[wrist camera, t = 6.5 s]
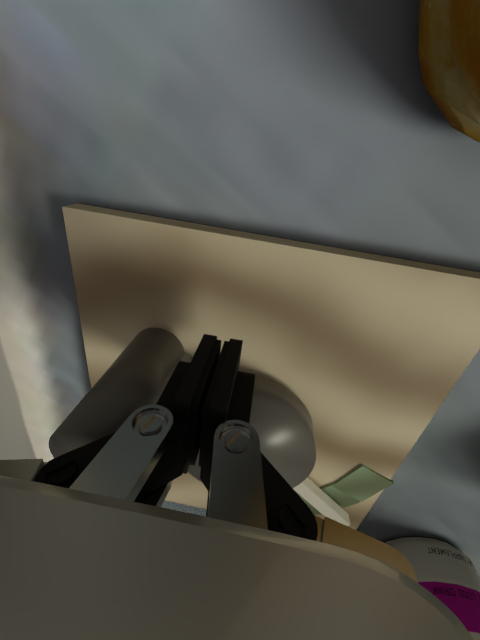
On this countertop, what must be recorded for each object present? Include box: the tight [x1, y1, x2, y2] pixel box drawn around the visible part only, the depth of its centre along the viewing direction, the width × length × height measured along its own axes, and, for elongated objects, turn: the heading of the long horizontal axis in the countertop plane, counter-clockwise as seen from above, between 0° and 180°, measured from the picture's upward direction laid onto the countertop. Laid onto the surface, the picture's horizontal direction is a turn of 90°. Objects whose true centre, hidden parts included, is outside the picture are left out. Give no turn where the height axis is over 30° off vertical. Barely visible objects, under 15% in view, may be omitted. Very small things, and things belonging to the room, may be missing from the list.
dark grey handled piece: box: [49, 327, 350, 526], centre depth 15 cm, size 19×8×6 cm, turn 42°
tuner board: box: [62, 203, 480, 530], centre depth 18 cm, size 22×20×1 cm
